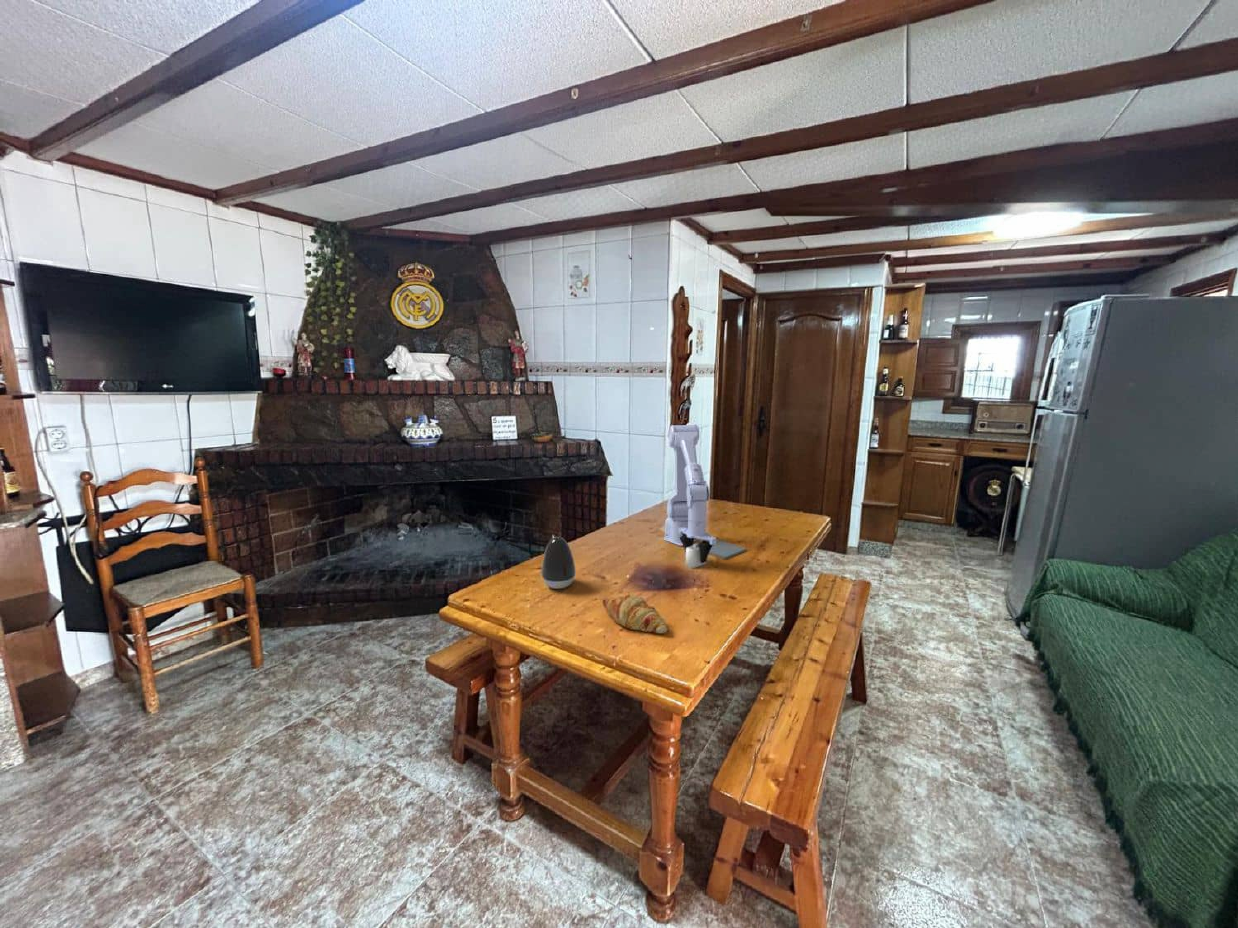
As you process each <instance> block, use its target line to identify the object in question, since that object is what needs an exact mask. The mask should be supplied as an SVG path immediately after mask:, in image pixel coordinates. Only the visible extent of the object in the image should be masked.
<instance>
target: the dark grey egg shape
mask: <svg viewBox="0 0 1238 928" xmlns="http://www.w3.org/2000/svg"><path fill="white" fill-rule="evenodd" d="M545 547H546V548H545V551H544V555H543V557H542V558H543V559H542V563H541V577H542V578H543V581H544V583H545V585H546V586H547V587H549V588H551V589H556V590H561V589H565V588H567V587H569V586H570V585H572V583H573V581H574V580H575V576H576V573H577V569H576V564H575V559H574V557H573V553H572V550H571V547H570V546H569V544H568V542H567V541H566V539H565V538H563V537H561V536H556V535H555V534H552V535H551V539H550V540H549V542H548V544H547V545H546V546H545Z"/></svg>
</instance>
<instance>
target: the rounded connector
mask: <svg viewBox="0 0 1238 928" xmlns="http://www.w3.org/2000/svg"><path fill="white" fill-rule="evenodd" d="M698 543H699V542H696V543H693V545H692V546H689V547H687V548H686V553H685V567H686V568H688V569H695V568H697V567H700V566H703V565H706V564H707V563H708V562H707V561H708V560H707V561H706V562H704V563H701V561H700V549H699V546H698Z"/></svg>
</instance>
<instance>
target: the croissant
mask: <svg viewBox="0 0 1238 928" xmlns="http://www.w3.org/2000/svg"><path fill="white" fill-rule="evenodd" d="M602 605H603V608H604V609H605V611H606V613H607V615H608V617H610V618H611V619H612V620H613V621H614V622H615V623H617V624H618V625H621V626H622V627H624V628H626V629H629V630H636V631H642V632H648V633H651V632H653V633H654V634H664V633H666V632H667V631H668V626H667V623H666V622H665V620H664V618H663V617H661V616H660V613H659V612H658V611H657V610H656V607H653V606H650V605H649V604H648V603H647V601H645V599H644V598H642V597H640V596H637V595H634V594H627V595H626V596H620V597H618V598H617V597H611V598H604V599H602Z"/></svg>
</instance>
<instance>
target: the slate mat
mask: <svg viewBox="0 0 1238 928" xmlns="http://www.w3.org/2000/svg"><path fill="white" fill-rule="evenodd" d="M746 551H747V548H746V547H743V546H739V545H737V544H736V545H735V544H734V543H733V544H732V543H730V542H728V541H724V540H720V539H718V540H717V539H716V544H714V545H713V546H712V548H711V550H710V552H709V554H708V555H711V556H714V557H716V558H719V559H721V560H727V559H730V558H733V557H735V556H737V555H740V554H741V553H743V552H746Z"/></svg>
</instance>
